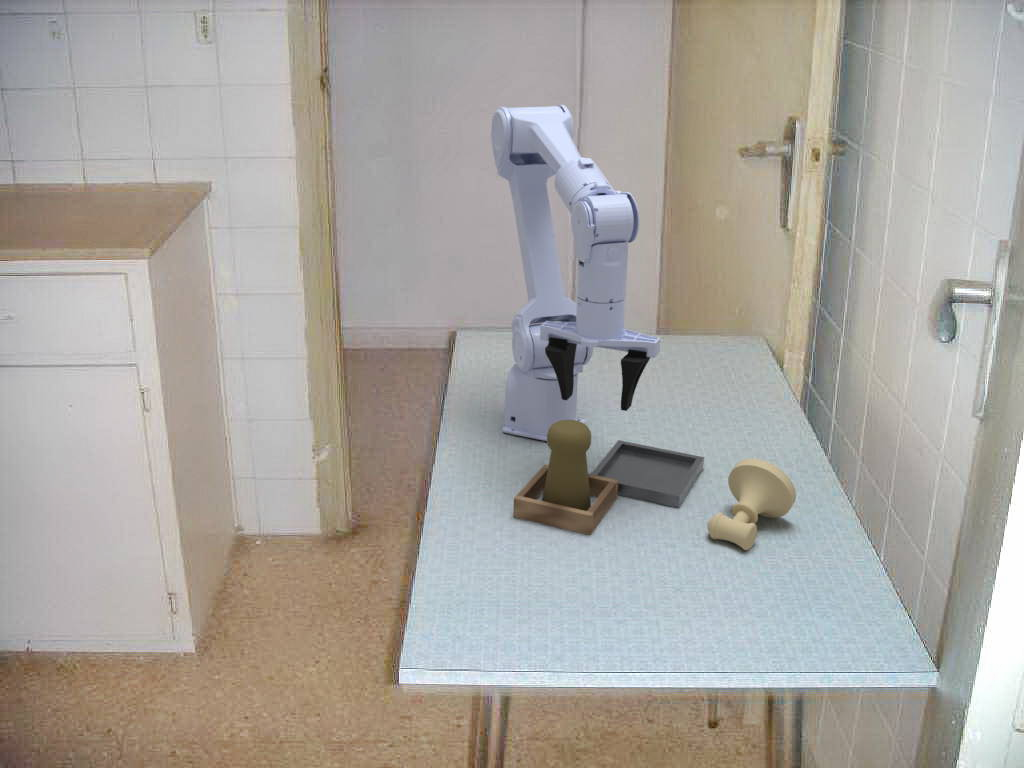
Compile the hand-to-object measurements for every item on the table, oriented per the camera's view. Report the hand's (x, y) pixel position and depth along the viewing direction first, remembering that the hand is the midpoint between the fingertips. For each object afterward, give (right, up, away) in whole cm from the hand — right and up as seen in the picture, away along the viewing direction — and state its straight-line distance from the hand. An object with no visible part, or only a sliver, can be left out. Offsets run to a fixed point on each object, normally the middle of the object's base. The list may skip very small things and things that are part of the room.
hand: (596, 402), depth 133 cm
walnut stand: (-4, -13, -3) cm, 13 cm away
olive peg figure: (-4, -13, -3) cm, 14 cm away
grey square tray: (+7, -10, +4) cm, 13 cm away
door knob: (+17, -15, -7) cm, 23 cm away
